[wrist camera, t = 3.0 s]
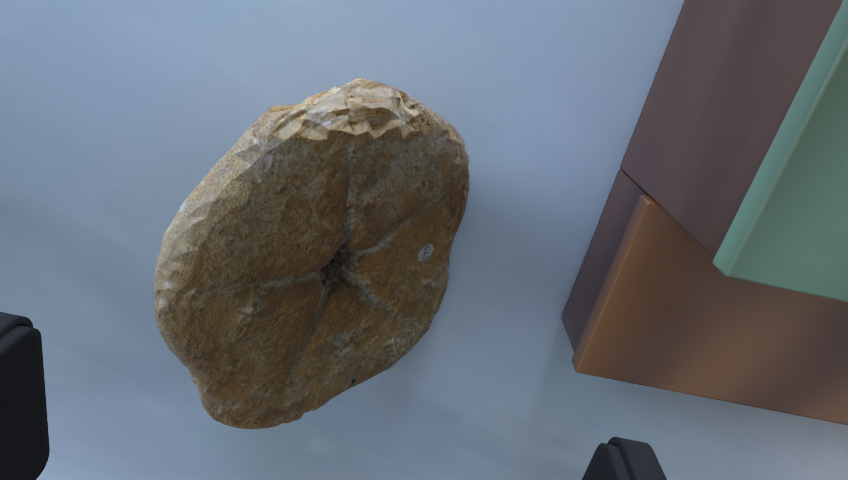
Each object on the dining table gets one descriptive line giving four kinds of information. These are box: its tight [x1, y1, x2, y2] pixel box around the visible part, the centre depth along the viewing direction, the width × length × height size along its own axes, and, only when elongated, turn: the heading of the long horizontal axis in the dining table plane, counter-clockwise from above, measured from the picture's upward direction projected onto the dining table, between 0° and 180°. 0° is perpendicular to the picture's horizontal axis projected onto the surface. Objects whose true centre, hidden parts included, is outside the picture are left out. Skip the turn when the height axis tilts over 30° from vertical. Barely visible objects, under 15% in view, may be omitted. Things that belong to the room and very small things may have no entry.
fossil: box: [153, 78, 469, 429], centre depth 15 cm, size 9×4×10 cm
